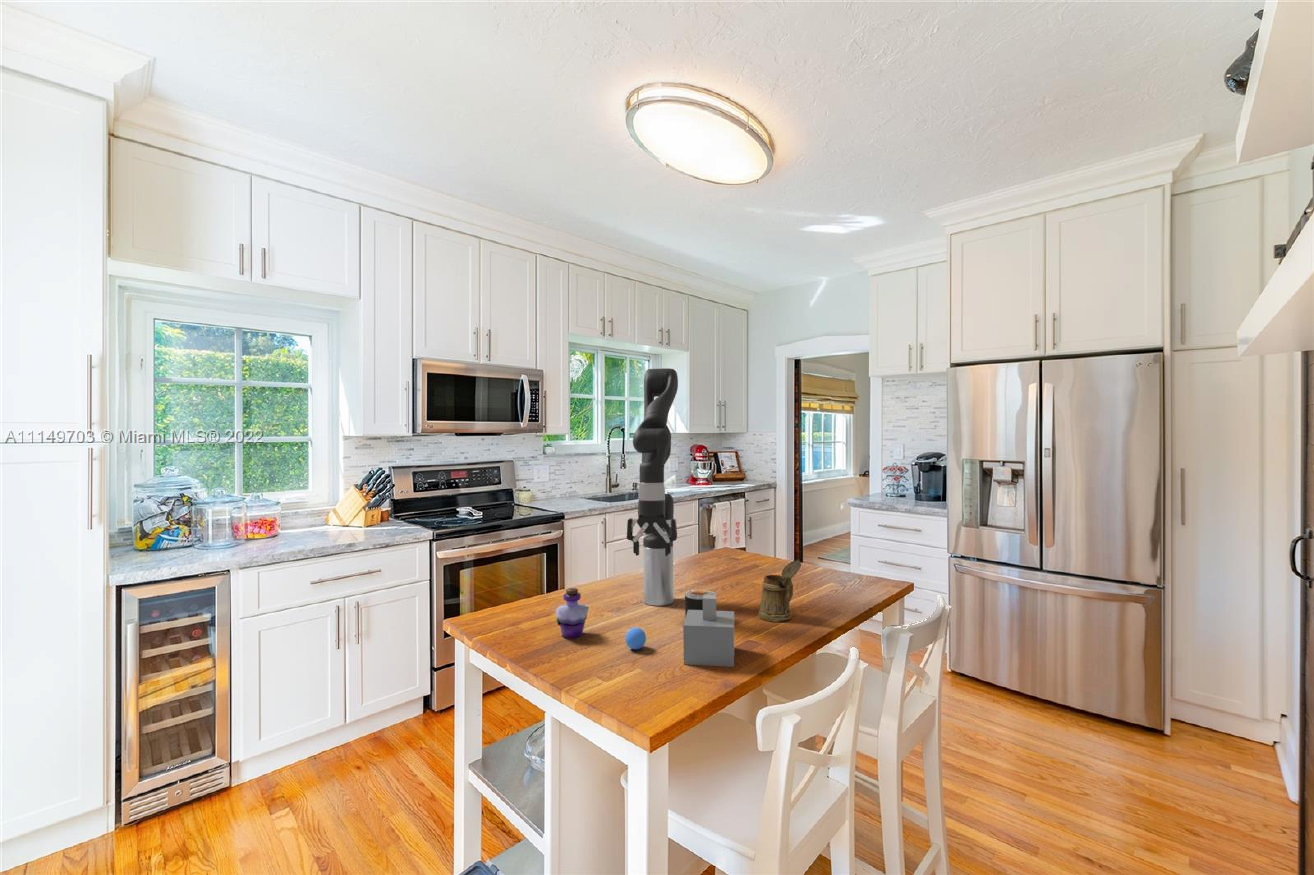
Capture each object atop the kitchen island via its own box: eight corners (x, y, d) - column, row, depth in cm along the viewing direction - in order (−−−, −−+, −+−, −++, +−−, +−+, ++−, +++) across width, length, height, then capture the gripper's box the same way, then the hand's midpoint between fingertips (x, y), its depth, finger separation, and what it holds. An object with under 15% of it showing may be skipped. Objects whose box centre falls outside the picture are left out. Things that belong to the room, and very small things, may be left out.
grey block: (688, 645, 138) (687, 589, 137) (734, 647, 136) (734, 590, 136) (683, 664, 127) (683, 603, 126) (733, 666, 125) (733, 605, 125)
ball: (627, 644, 139) (627, 624, 139) (647, 645, 138) (647, 625, 138) (623, 652, 134) (623, 631, 134) (644, 653, 133) (644, 632, 133)
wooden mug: (786, 629, 148) (785, 561, 148) (752, 615, 160) (751, 552, 160) (810, 623, 153) (809, 557, 153) (775, 610, 164) (774, 548, 164)
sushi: (708, 626, 151) (708, 597, 151) (680, 621, 155) (680, 593, 155) (720, 617, 158) (719, 589, 158) (692, 613, 162) (692, 585, 162)
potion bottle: (554, 631, 149) (553, 585, 148) (587, 628, 151) (586, 583, 151) (556, 642, 140) (556, 594, 140) (591, 639, 142) (590, 592, 142)
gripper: (678, 497, 163) (678, 553, 163) (629, 497, 165) (630, 552, 165) (675, 499, 156) (675, 558, 155) (624, 499, 158) (624, 557, 157)
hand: (652, 555), depth 160 cm, fingers open, 8 cm apart
